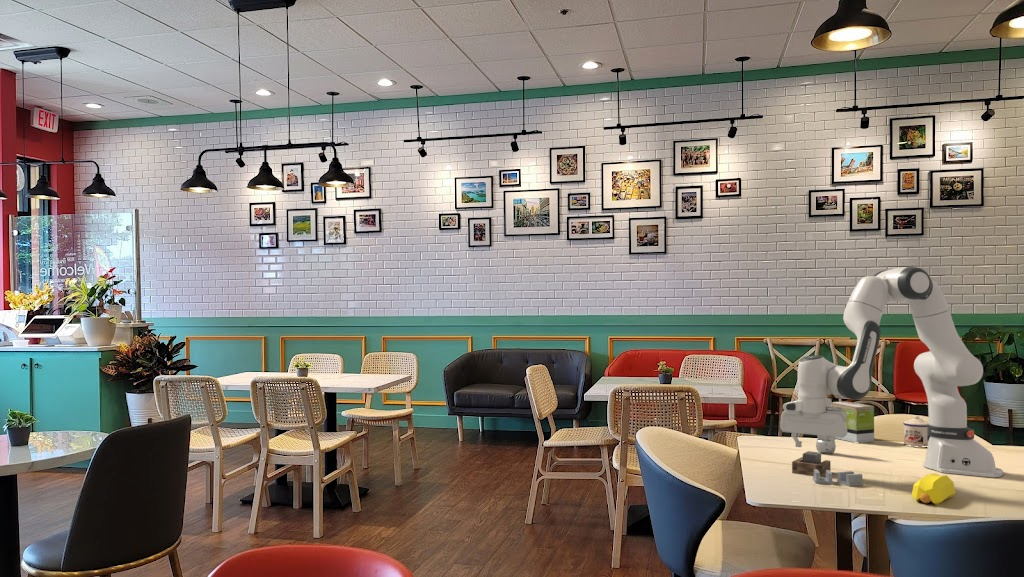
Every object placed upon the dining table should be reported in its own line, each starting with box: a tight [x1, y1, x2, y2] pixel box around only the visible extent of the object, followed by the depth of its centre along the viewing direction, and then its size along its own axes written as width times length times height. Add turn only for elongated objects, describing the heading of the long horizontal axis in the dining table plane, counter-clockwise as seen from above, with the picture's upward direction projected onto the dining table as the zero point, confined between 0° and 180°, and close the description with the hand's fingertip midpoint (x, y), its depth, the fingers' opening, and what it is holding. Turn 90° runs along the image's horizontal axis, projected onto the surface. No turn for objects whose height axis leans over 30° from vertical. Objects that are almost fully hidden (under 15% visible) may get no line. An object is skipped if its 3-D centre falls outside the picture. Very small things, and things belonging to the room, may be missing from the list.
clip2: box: [812, 469, 834, 485], centre depth 223 cm, size 5×5×3 cm
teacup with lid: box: [903, 415, 929, 447], centre depth 285 cm, size 12×9×12 cm
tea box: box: [831, 401, 875, 443], centre depth 299 cm, size 15×10×15 cm
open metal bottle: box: [815, 397, 837, 455], centre depth 269 cm, size 6×7×20 cm
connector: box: [802, 450, 822, 464], centre depth 238 cm, size 4×10×5 cm, turn 141°
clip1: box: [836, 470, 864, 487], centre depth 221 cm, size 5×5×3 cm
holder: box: [791, 456, 832, 478], centre depth 236 cm, size 9×10×4 cm
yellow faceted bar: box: [911, 473, 956, 506], centre depth 203 cm, size 18×7×8 cm
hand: (813, 448), depth 237 cm, fingers open, 8 cm apart
